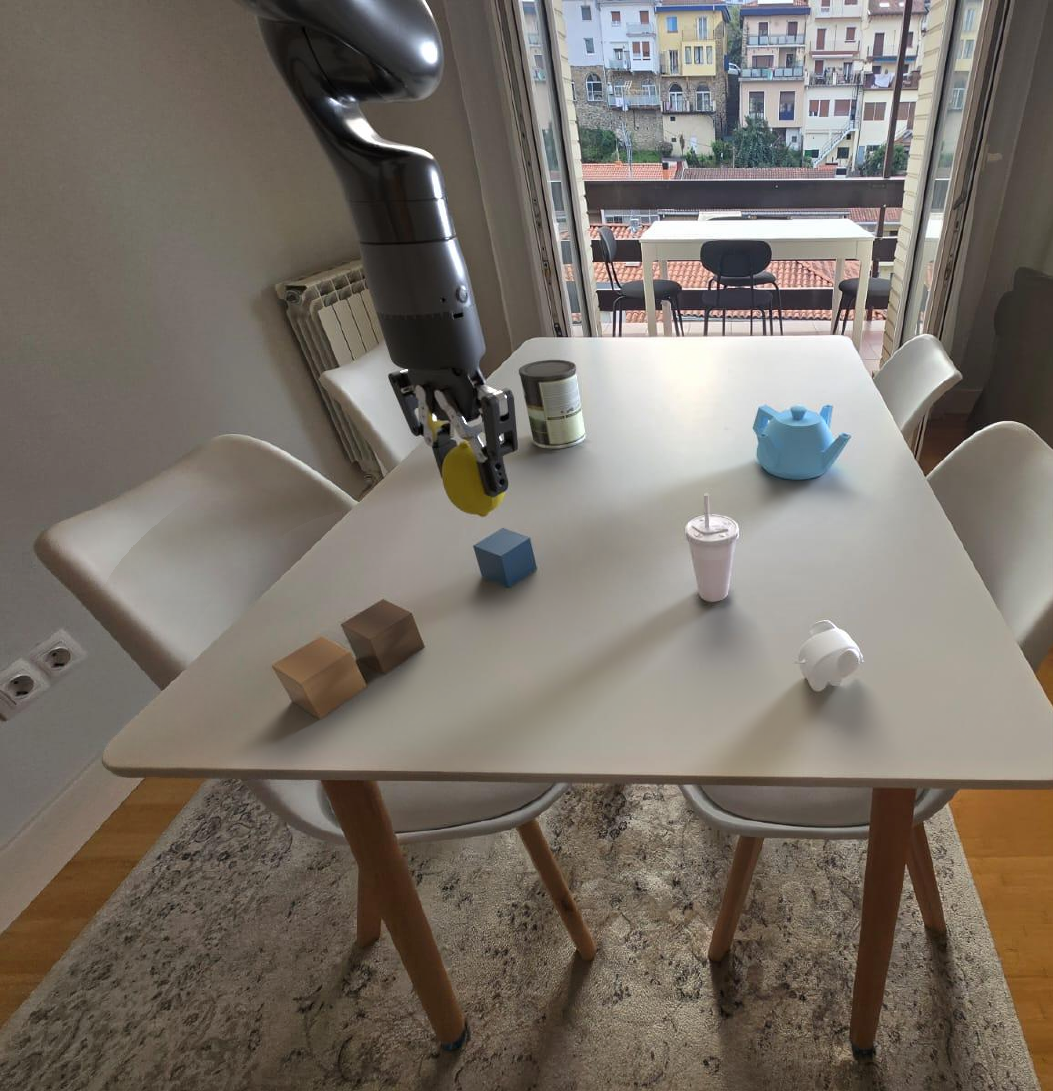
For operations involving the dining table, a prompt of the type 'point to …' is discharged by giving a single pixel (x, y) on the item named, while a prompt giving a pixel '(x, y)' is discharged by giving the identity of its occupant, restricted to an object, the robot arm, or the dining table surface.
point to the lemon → (466, 482)
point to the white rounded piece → (828, 655)
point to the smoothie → (712, 552)
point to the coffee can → (553, 403)
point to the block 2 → (383, 636)
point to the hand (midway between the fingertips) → (475, 485)
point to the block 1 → (320, 676)
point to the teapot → (796, 442)
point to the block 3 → (505, 557)
